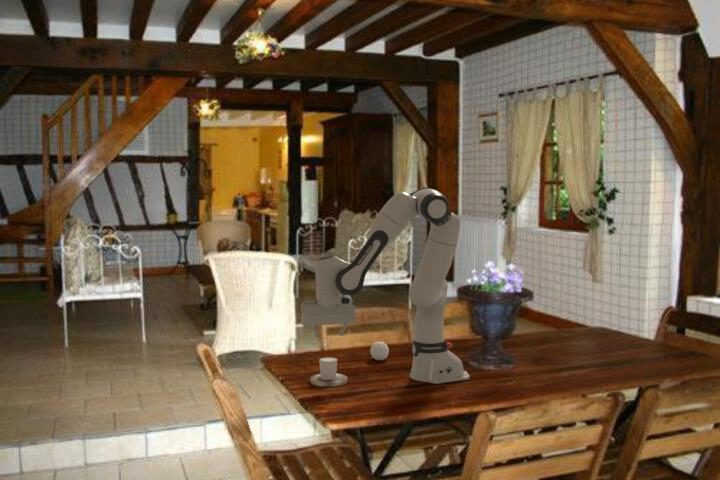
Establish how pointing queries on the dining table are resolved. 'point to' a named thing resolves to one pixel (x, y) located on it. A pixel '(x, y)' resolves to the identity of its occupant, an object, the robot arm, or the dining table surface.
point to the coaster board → (328, 381)
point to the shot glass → (328, 368)
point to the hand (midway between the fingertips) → (329, 336)
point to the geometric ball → (379, 351)
